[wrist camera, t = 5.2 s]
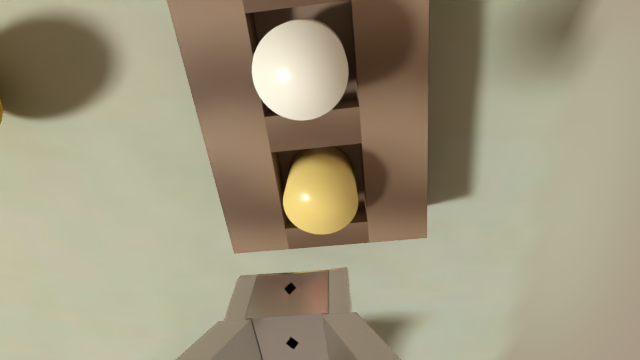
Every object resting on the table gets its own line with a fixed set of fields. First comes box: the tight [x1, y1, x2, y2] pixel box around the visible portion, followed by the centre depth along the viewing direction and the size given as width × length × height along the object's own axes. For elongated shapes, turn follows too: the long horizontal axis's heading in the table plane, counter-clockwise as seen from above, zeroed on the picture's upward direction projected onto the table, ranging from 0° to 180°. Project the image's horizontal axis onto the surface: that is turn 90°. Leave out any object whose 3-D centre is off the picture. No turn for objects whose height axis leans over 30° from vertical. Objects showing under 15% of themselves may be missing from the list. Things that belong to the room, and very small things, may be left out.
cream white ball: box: [252, 18, 348, 121], centre depth 17 cm, size 4×4×4 cm
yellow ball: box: [283, 146, 358, 234], centre depth 21 cm, size 4×4×4 cm
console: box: [167, 0, 429, 253], centre depth 20 cm, size 22×12×4 cm, turn 7°
